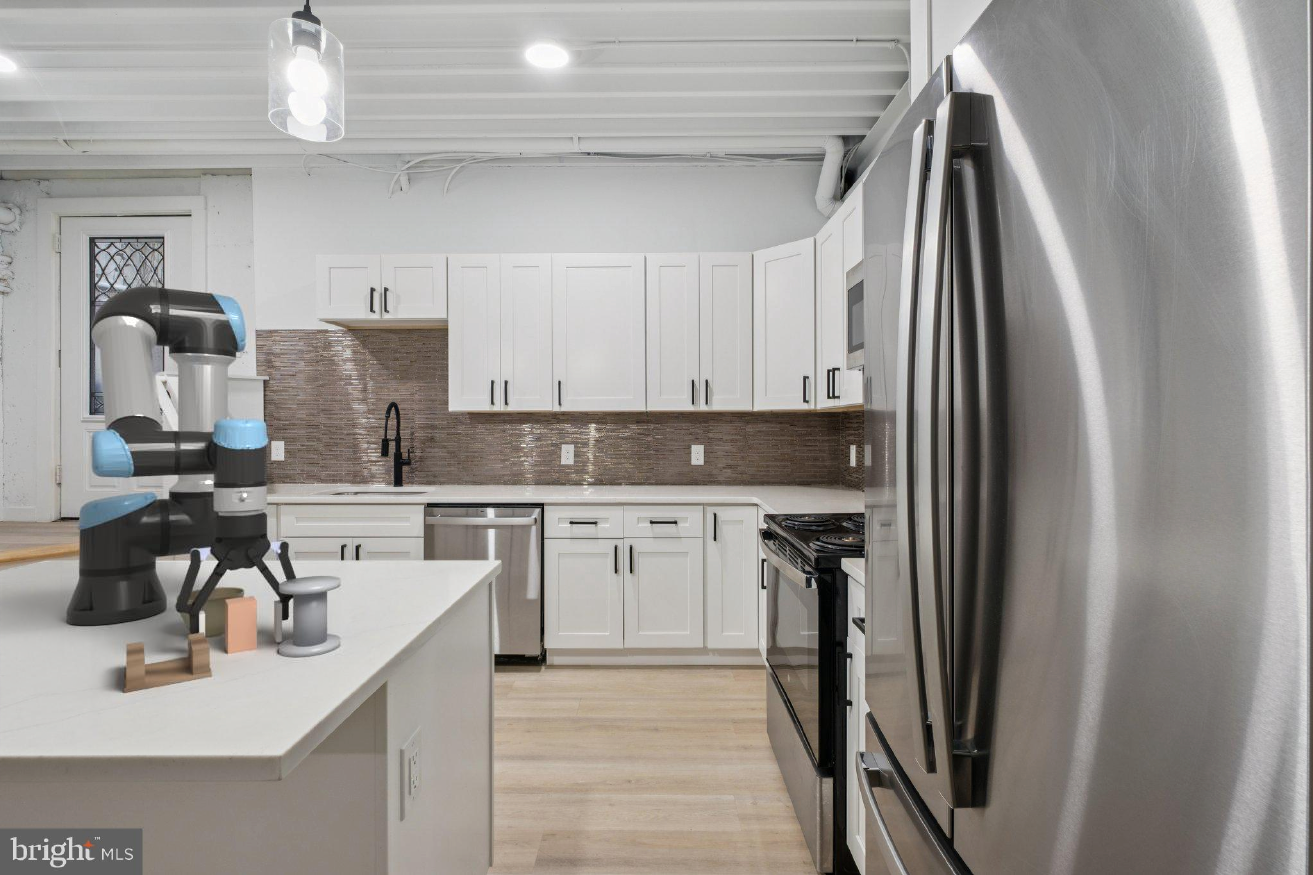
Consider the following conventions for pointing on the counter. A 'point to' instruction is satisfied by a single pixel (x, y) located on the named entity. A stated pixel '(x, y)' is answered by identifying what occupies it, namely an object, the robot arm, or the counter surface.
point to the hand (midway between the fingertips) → (240, 646)
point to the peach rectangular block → (240, 624)
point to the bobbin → (309, 616)
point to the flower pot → (214, 609)
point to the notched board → (166, 666)
